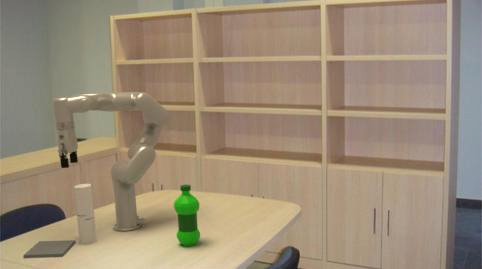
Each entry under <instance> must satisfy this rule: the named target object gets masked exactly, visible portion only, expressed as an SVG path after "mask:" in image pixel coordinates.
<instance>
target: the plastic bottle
mask: <svg viewBox="0 0 482 269" xmlns="http://www.w3.org/2000/svg"><path fill="white" fill-rule="evenodd" d="M191 187H192V186H191V184H181V185H180V187H179V188H180V192H181V194H180V195H179V196H178V197H177V198H176V199H175V201H174V203H173V208H174V211H175V212H176V214H177V223H178V225H177V226H178V230H177V232H176V238H177V241H178V242H179V243H180V244H182V246H184V247H191V246H194V245H196V243H197V242H198V241H199V240H200V238H201V232H200V230H199V229H198V227H199V226H198V214H197V213H198V212H199V210H200V202H199V200H198V198H196V197H195V196H194V195H193V194H192V193H191V192H190V191H191V189H192V188H191Z"/></svg>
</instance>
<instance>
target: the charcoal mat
mask: <svg viewBox="0 0 482 269" xmlns="http://www.w3.org/2000/svg"><path fill="white" fill-rule="evenodd" d="M76 241H77V240H76V239H73V240H72V239H69V240H68V239H67V240H40V241H38V242H37V243H35V244H34V245H33V246H32V247H31V248H30V249H29V250H27V251H26V252H25V253H24V254H23V259H27V258H28V259H29V258H31V259H32V258H36V259H37V258H63V257H64V256H65V255H66V254H67V253H68V252H69V251H70V250H71V248H72V247H73V246H74V245H75V244H76V243H77V242H76Z"/></svg>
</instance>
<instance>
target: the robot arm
mask: <svg viewBox="0 0 482 269" xmlns="http://www.w3.org/2000/svg"><path fill="white" fill-rule="evenodd" d="M52 103H53V112H54V121H55V129H56V131H57V146H58V149H57V152H58V156H59V159H60V167H61V169H68V168H69V167H70V163H71V164H76V163H78V162H79V161H78V160H79V159H78V151H77V150H78V149H79V145H78V137H77V133H76V127H75V118H74V114H77V113H78V114H80V113H81V114H82V113H83V114H84V113H85V114H86V113H87V112H89V111H99V112H100V111H101V112H111V113H112V112H113V113H114V112H125V111H126V112H127V111H139V112H141V113H142V114H143V115H142V118H143V119H142V120H143V124H144V126H143V130H142V131H141V133H140V135H139V136H138V137H137V138H136V140H135V141H134V142H133V143H132V144H131V146H130V147H129V148H128V150H127V158H128V159H129V161H127V160H122V159H121V160H117V161H116V162H114V163H113V164H112V166H111V169H110V176H111V180H112V184H113V185H112V186H113V194H114V205H115V206H114V208H115V220H116V223H114V225H113V230H115V231H116V232H117V231H118V232H129V231H133V230H137V229H139V228H141V227H142V225H143V224H147V219H146V218H141V217H140V216H139V215H138V213H137V211H138V210H137V198H136V187H135V184H136V183H138V182H139V181H140V180H141V179H142V178H143V177H144V175H146V173H147V171H148V170H149V169H150V168H151V166H152V165H153V164H154V163H155V160H156V156H157V154H156V153H157V152H156V150H155V146H156V145H157V143H158V142H159V140H160V138H161V132H162V128H163V127H165V126H166V125H167V126H168V124H169V122H170V114H169V112H168V110H167V109H166V108H165V107H164V106H162V104H160V103H159V102H158V101H157V100H156V99H155V98H154V97H153V96H151V95H150V94H149V93H147V92H142V91H121V92H119V91H117V92H104V93H103V92H102V93H83V94H82V93H79V94H77V93H76V94H73V95H71V96H69V97H68V96H60V97H55V98H54V99H53V101H52ZM68 155H69V158H68ZM69 161H70V163H69Z"/></svg>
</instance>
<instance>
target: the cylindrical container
mask: <svg viewBox="0 0 482 269" xmlns="http://www.w3.org/2000/svg"><path fill="white" fill-rule="evenodd" d="M73 188H74V197H75V199H74V200H75V209H76V210H75V211H76V219H77V220H76V221H77V230H78V238H79V239H78V242H79V244H80V245H84V246H85V245H91V244H94V243H96V242H97V232H96V224H95V223H96V222H95V220H96V219H95V207H94V199H93V198H94V196H93V188H92V184H91V183H80V184H76V185H74V187H73Z"/></svg>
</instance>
